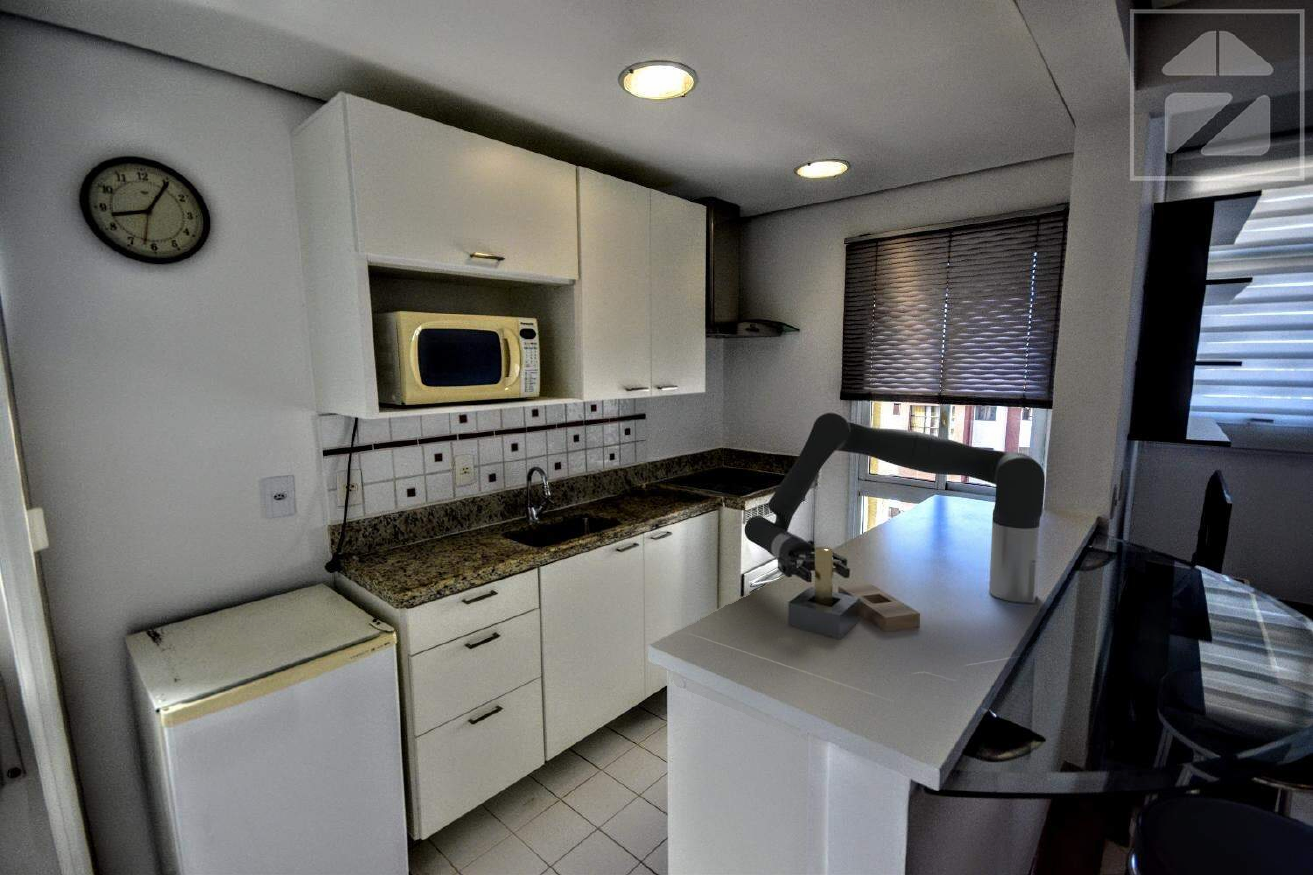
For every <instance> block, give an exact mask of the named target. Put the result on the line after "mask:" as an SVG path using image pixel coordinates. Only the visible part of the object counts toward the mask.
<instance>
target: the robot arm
mask: <svg viewBox="0 0 1313 875" xmlns="http://www.w3.org/2000/svg"><path fill="white" fill-rule="evenodd" d="M835 451H836V452H845V453H850V454H851V453H853V454H860V455H864V456H868V457H872V458H873V459H876V460H879V461H883V462H886V463H888V464H892V465H895V466H898V467H902V468H904V469H909V470H914V471H918V472H922V473H925V474H926V473H927V474H935V475H945V476H962V477H963V476H964V477H967V478H973V479H977V480H979V481H984V482H987V483H989V484H992V485H995V499H994V506H993V510H992V522H991V523H992V524H991V540H990V541H991V544H990V563H989V564H990V566H989V568H990V569H989V582H988V583H989V584H988V585H989V587H988V588H989V589H988V592H989V594H990V595H992V596H994V597H995V598H998V599H1001V600H1004V601H1007V602H1012V603H1013V602H1014V603H1029V604H1035V601H1036V598H1037V595H1038V580H1039V578H1038V577H1039V561H1040V556H1039V544H1040V543H1039V539H1040V538H1039V537H1040V524H1041V523H1040V522H1041V517H1042V514H1043V510H1044V499H1045V488H1046V487H1045V486H1046V485H1045V484H1046V482H1045V481H1046V479H1045V478H1046V476H1045V472H1044V468H1043V467H1042V466H1041V465H1040V464H1039V462H1037V461H1036V459H1034V458H1032V457H1031V456H1030V455H1027V454H1025V453H1022V452H1016V451H1015V452H1013V451H1004V450H995V449H988V448H987V449H986V448H981V447H977V446H973V445H968V444H965V443H963V442H959V441H956V440H952V439H949V438H945V437H941V436H937V435H934V434H929V433H924V432H919V431H913V430H907V429H899V428H883V427H882V428H879V427H874V426H873V427H871V426H868V425H864V424H860V423H857V422H854V421H850V420H847V418H845V416H843V415H842V414H841V413H838V412H832V411H831V412H826V413H823V414H821V415H820V416H818V417H817V418H816V419H815V421H814V422H813V425H812V428H811V430H810V432H809V434H808V437H807V440H806V441H805V443H804V446H803V448H802V450H801V452H800V454H799V456H798V457H797V459H796V460H795V462H794V464H793V465H792V467H791V468H790V469H789V471H788V473H787V474H786V475H785V477H784V478H783V479H782V481H781V483H780V484H779V485H778V487H777V488H776V490H775V492H774V493H773V495H772V497H771V498H770V499H769V501H768V503H767V506H768V509H769V510H770V511H771V512H772V513H773V514H774V515H775V522H772V521H770V520H769V519H768V518H765V517H764V516H762V515H754V516H752V517H750V518H749V519H747V521H746V522H745V524H744V535H745V537H746V539H747V540H748V541H750V542H751V543H753V544H755V545H757V546H758V547H760V548H762V549H764V550H765V551H767V553H769V554H770V555H771V556H772V557H774V558H775V559H776V560H777V570H778V571H780V572H781V573H782V575H784V576H785V577H787V578H792V577H793V576H795V577H796V578H800V579H801V580H803V581H805V582H807V583H812V582H813V581H812V580H813V578H812V577H813V576H812V575H813V573H812V571H813V572H815V548H816V547H815V546H814V545H813V544H811V542H809V541H807V540H805V539H803V538H802V537H800V536H798V535H796V534H793V533H791V532H790V531H789V527H790V525H791V522H792V519H793V517H794V515H795V513H796V512H797V510H798V509H799V507H800V506H801V505H802V503H803V501H804V499H805V498H806V496H807V495H808V492H809V491H810V489H811V487H812V485H813V483H814V481H815V480H816V477H817V476H818V473H819V472H820V470H821V469H822V467H823V466H824V465H825V463H826V462H827V461H828V459H829V458H830V457H831V456H832V455H833V454H834V453H835ZM850 569H851V568H849V567H848V559H847V558H845V557H843V556H842V555H839V554H838V553H835V552H834V551H833V573H836V574H838V575H839V576H840V577H842V578H844V579H849V578H850V576H851V573H850V572H851V570H850Z"/></svg>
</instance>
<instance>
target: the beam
mask: <svg viewBox="0 0 1313 875" xmlns="http://www.w3.org/2000/svg"><path fill="white" fill-rule="evenodd" d="M837 588H838V590H837V591H838V592H837V593H841V594H845V595H849V596H854V597H858V598H860V599H859V615H861V616H862V617H864V618H865V619H867V620H868V621H869V622H871V623H872V624H874V625H875V626H876V627H878V628H879V629H880V630H882V631H883V632H885V633H886V632H895V631H901V630H909V629H915V628H920V626H921V624H920V623H921V613H920V612H919V611H917V610H916V609H914V608H912V607H910V606H909V605H908V604H905V603H904V602H902V601H901V600H899V599H898V598H895V597H894V596H892V595H891V594H889V593H887V592H886V591H884V590H883V589H881V588H879V587H878V586H875V585H874V584H872V583H871V582H861V583H860V582H859V583H852V584H844V585H843V584H842V585H838V587H837Z"/></svg>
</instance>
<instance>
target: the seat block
mask: <svg viewBox="0 0 1313 875" xmlns="http://www.w3.org/2000/svg"><path fill="white" fill-rule="evenodd" d="M859 599H860V598H858V597H854V596H849V595H845V594H841V593H838V592H835V591H833V607H828V606H824V605H820V604H816V603H815V586H809V587H808V588H806V589H804V591H802V592H800V593H799V594H798V595H796V596H795V597H794V598H792V599H791V600H790V601H789V602H787V604H788V607H787V608H788V610H787V611H788V612H787V615H788V616H787V619H788V622H787V626H789V627H793V628H797V629H801V630H804V631H807V632H811V633H814V634H817V635H822V636H825V637H829V638H832V639H834V640H838V641H839V640H842V638H843V637H844V636H845V635H846V634H847V633H848V632H849V631H850V630H851V629H852V628H853V627H854V626H855V625H856V624H857V623H858V622H859V621H860V613H859Z"/></svg>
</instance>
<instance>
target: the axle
mask: <svg viewBox="0 0 1313 875" xmlns="http://www.w3.org/2000/svg"><path fill="white" fill-rule="evenodd" d="M814 548H815V571H814V587H815V603H816V604H820V605H824V606H828V607H833V592H834V591H833V590H834V588H833V587H834V586H833V584H834V582H833V581H834V580H833V579H834V577H833V576H834V572H833V568H834V566H833V552H834V550H833V547H829V546H817V547H814Z"/></svg>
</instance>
